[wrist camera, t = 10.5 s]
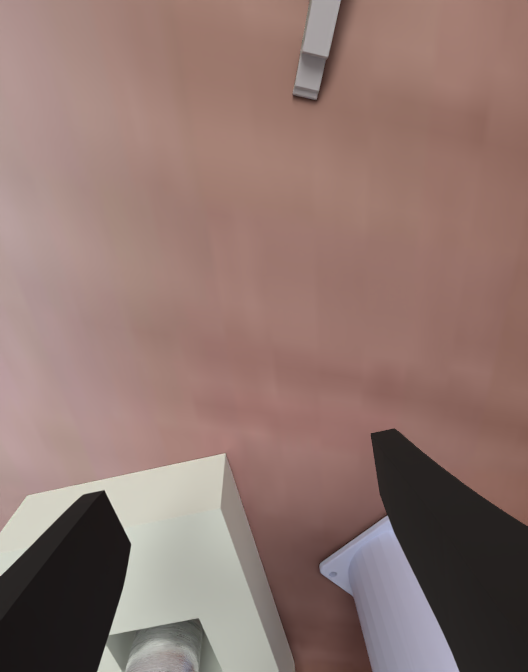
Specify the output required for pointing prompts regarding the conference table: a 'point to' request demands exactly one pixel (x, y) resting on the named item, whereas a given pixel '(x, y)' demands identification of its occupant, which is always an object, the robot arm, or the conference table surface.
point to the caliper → (315, 46)
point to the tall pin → (167, 648)
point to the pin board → (177, 563)
